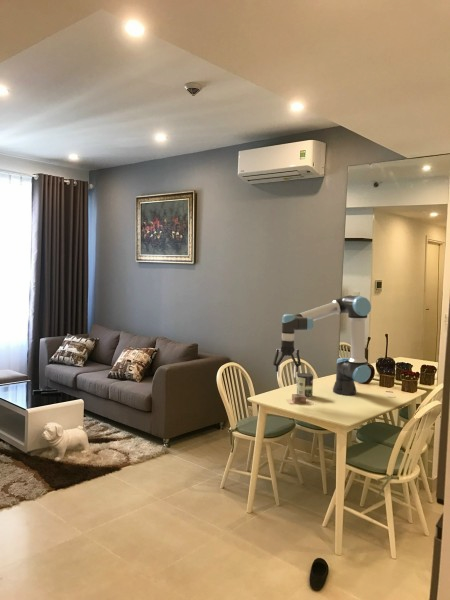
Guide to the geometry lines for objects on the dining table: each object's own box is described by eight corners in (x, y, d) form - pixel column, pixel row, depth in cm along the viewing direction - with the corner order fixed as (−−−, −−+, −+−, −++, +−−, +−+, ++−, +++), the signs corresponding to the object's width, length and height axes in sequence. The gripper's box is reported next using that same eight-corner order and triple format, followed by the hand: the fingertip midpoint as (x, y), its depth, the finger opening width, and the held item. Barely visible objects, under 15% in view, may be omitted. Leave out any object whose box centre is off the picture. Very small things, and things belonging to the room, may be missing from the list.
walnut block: (303, 400, 297) (303, 394, 296) (305, 403, 290) (306, 397, 290) (291, 400, 296) (292, 394, 296) (294, 403, 289) (294, 397, 289)
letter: (310, 400, 299) (310, 399, 299) (315, 405, 288) (315, 404, 288) (285, 400, 298) (285, 399, 298) (289, 405, 287) (289, 404, 287)
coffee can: (312, 395, 312) (313, 373, 311) (312, 399, 301) (313, 377, 301) (296, 394, 314) (297, 372, 313) (295, 398, 303) (296, 375, 303)
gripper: (304, 339, 295) (303, 375, 296) (268, 338, 293) (267, 375, 294) (307, 341, 287) (306, 378, 289) (270, 340, 285) (269, 378, 287)
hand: (286, 377), depth 291 cm, fingers open, 9 cm apart
